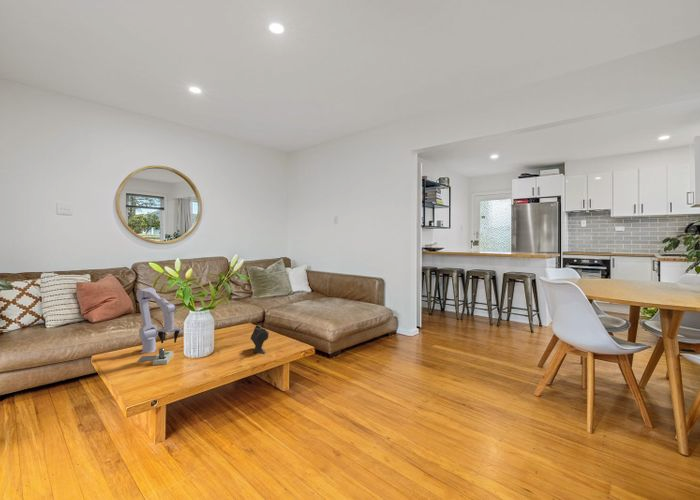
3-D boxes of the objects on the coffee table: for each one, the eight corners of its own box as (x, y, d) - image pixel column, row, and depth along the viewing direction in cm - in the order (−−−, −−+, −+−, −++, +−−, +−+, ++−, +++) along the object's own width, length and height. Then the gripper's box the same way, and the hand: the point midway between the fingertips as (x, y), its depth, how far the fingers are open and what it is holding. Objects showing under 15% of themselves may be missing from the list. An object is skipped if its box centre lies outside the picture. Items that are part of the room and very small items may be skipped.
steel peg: (159, 362, 212) (159, 348, 212) (164, 361, 213) (164, 347, 213) (158, 363, 209) (158, 349, 209) (163, 363, 210) (163, 349, 210)
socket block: (160, 356, 222) (160, 351, 222) (173, 355, 224) (173, 351, 224) (152, 365, 206) (152, 360, 206) (166, 364, 208) (166, 359, 208)
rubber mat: (141, 356, 220) (141, 356, 220) (158, 355, 222) (158, 355, 222) (136, 362, 210) (136, 361, 210) (154, 361, 213) (154, 360, 213)
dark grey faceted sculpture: (272, 346, 247) (272, 322, 246) (265, 354, 231) (265, 328, 231) (253, 345, 248) (254, 321, 247) (245, 352, 233) (246, 327, 232)
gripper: (154, 324, 214) (154, 345, 214) (179, 323, 217) (179, 343, 218) (158, 321, 220) (157, 341, 221) (181, 320, 224) (181, 340, 225)
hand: (168, 342), depth 220 cm, fingers open, 7 cm apart
